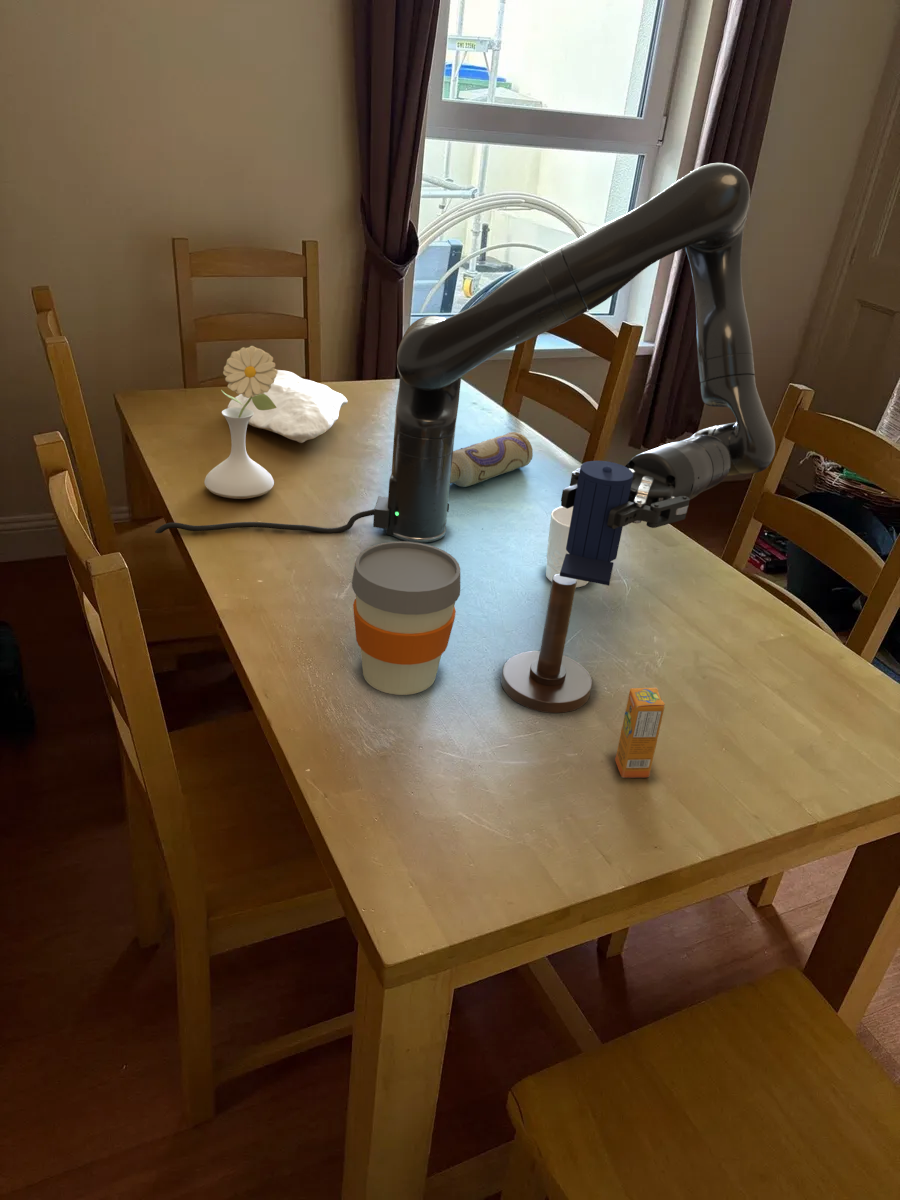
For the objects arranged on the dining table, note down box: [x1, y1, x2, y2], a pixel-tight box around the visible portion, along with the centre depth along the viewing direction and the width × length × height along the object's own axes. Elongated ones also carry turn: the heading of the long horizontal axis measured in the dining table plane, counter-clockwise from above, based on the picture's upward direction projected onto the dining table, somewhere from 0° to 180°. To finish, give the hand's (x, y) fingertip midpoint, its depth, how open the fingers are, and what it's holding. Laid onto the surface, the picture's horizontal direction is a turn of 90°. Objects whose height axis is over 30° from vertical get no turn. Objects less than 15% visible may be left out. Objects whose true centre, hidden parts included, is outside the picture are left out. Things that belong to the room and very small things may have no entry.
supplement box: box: [614, 687, 666, 779], centre depth 95 cm, size 3×3×10 cm
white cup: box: [545, 506, 589, 588], centre depth 132 cm, size 8×8×10 cm
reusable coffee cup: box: [351, 540, 461, 696], centre depth 105 cm, size 12×13×15 cm
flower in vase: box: [203, 345, 278, 500], centre depth 144 cm, size 13×11×25 cm
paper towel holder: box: [500, 574, 593, 714], centre depth 106 cm, size 11×11×15 cm
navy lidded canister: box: [560, 460, 633, 586], centre depth 98 cm, size 10×6×10 cm, turn 166°
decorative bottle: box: [450, 431, 534, 488], centre depth 162 cm, size 26×8×7 cm, turn 136°
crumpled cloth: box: [227, 369, 348, 444], centre depth 177 cm, size 24×35×9 cm
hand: (587, 509), depth 98 cm, fingers closed on navy lidded canister, 5 cm apart
